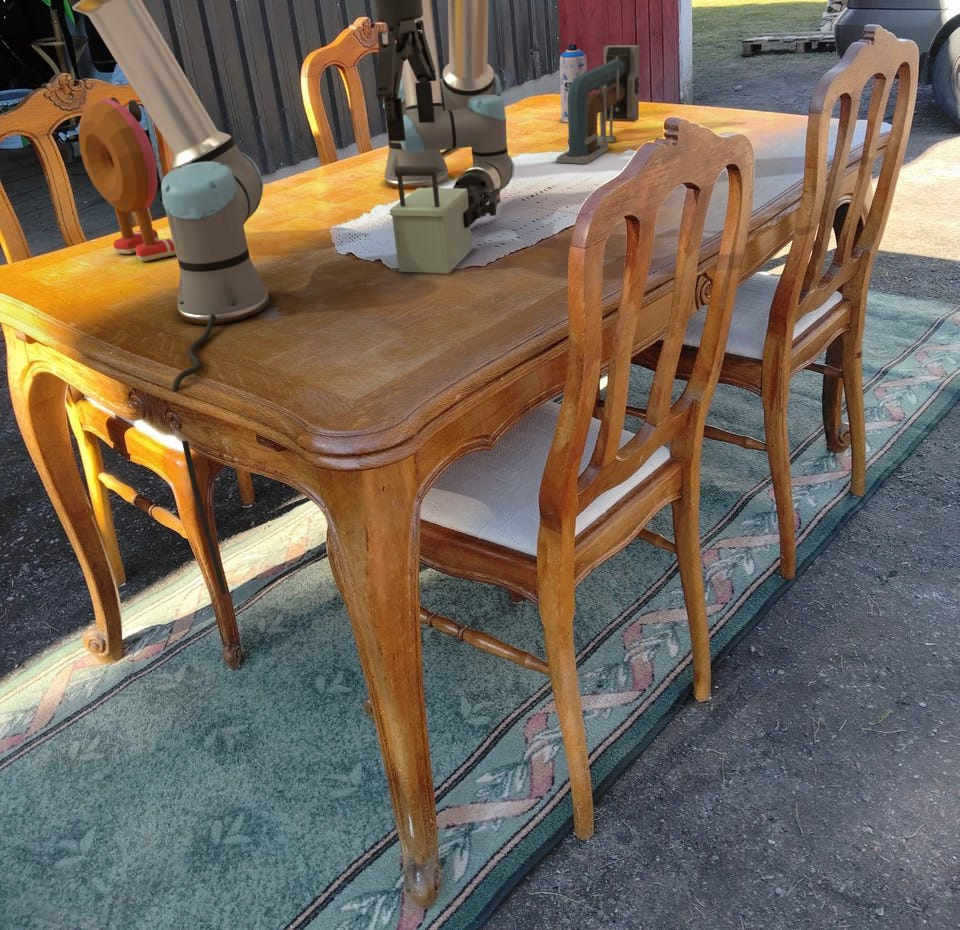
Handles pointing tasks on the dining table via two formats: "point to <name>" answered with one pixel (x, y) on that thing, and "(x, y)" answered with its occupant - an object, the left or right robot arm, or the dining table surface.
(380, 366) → the dining table surface
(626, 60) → the clamp
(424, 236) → the chest
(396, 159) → the right robot arm
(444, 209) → the lid
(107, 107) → the toy
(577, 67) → the aerosol can
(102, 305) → the dining table surface
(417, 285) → the dining table surface
